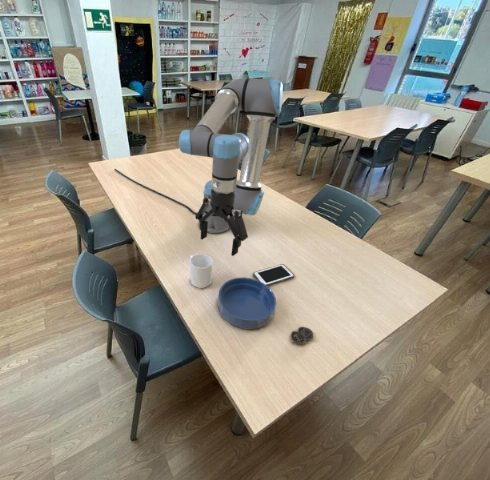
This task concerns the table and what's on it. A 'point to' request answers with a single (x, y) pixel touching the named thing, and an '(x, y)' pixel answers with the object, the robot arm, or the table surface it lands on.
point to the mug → (201, 270)
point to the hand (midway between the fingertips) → (218, 245)
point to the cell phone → (273, 274)
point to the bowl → (246, 303)
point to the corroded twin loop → (302, 335)
